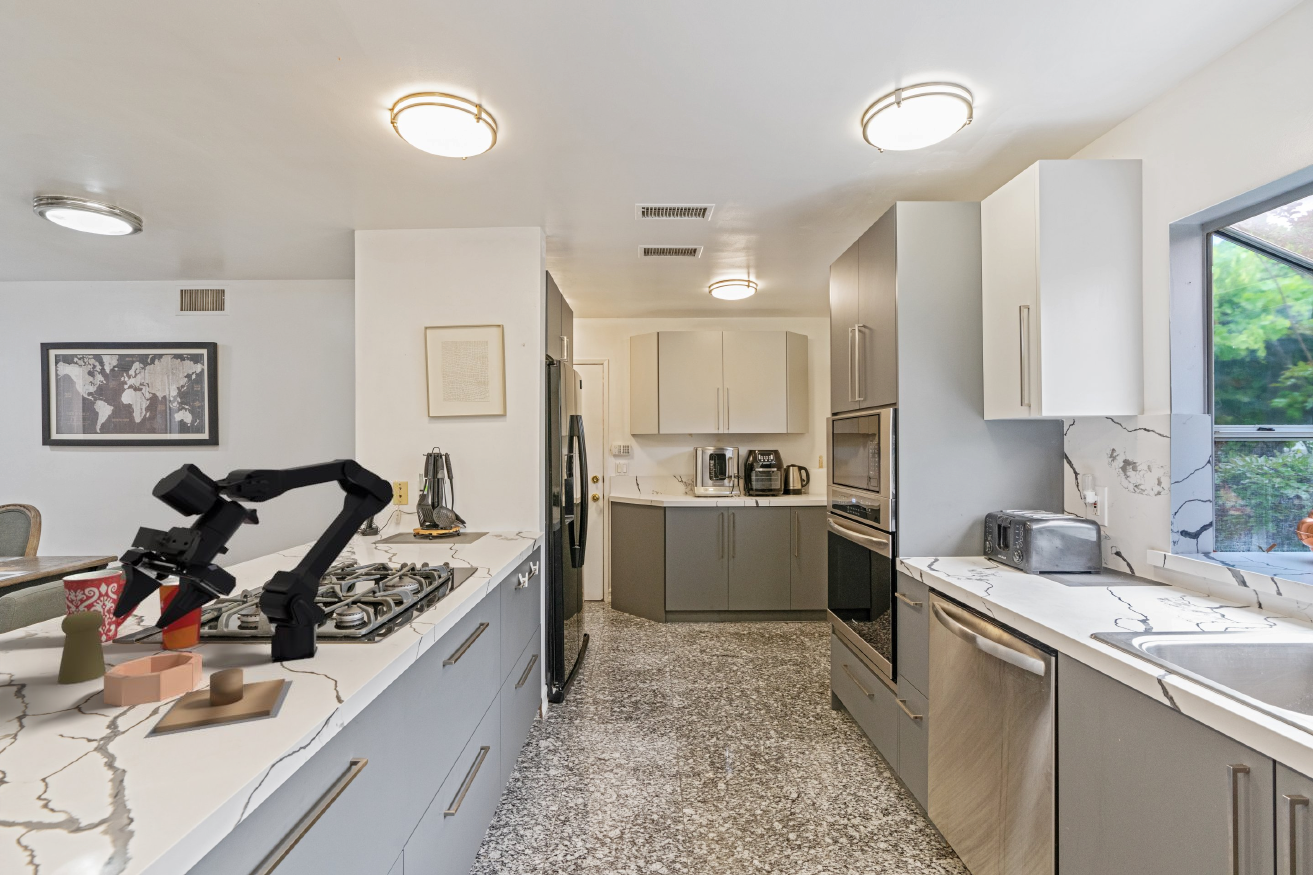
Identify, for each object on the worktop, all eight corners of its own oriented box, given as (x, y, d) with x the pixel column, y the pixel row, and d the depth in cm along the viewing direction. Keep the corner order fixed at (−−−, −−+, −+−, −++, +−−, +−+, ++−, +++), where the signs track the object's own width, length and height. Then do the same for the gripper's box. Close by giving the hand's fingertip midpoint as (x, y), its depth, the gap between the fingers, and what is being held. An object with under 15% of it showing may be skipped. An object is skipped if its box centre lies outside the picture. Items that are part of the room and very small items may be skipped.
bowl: (207, 675, 103) (207, 649, 103) (186, 699, 93) (186, 670, 93) (124, 686, 98) (125, 658, 99) (93, 713, 88) (93, 682, 88)
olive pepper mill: (76, 685, 99) (76, 617, 100) (47, 682, 101) (48, 616, 101) (115, 671, 105) (116, 608, 106) (88, 669, 106) (88, 607, 107)
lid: (285, 683, 98) (285, 653, 98) (269, 715, 86) (269, 681, 86) (186, 697, 93) (186, 665, 93) (155, 733, 81) (156, 696, 81)
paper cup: (174, 639, 123) (175, 570, 124) (214, 638, 124) (214, 569, 124) (145, 652, 116) (146, 578, 116) (188, 650, 116) (188, 577, 116)
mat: (293, 682, 99) (293, 680, 99) (276, 719, 85) (276, 716, 85) (180, 698, 93) (180, 696, 93) (143, 740, 80) (143, 737, 80)
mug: (58, 651, 117) (59, 581, 117) (64, 640, 124) (65, 574, 124) (144, 637, 125) (144, 572, 125) (145, 628, 132) (145, 566, 132)
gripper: (131, 498, 96) (46, 587, 87) (216, 512, 90) (134, 609, 81) (184, 535, 104) (111, 620, 95) (265, 550, 99) (196, 642, 89)
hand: (136, 622), depth 90 cm, fingers open, 9 cm apart
